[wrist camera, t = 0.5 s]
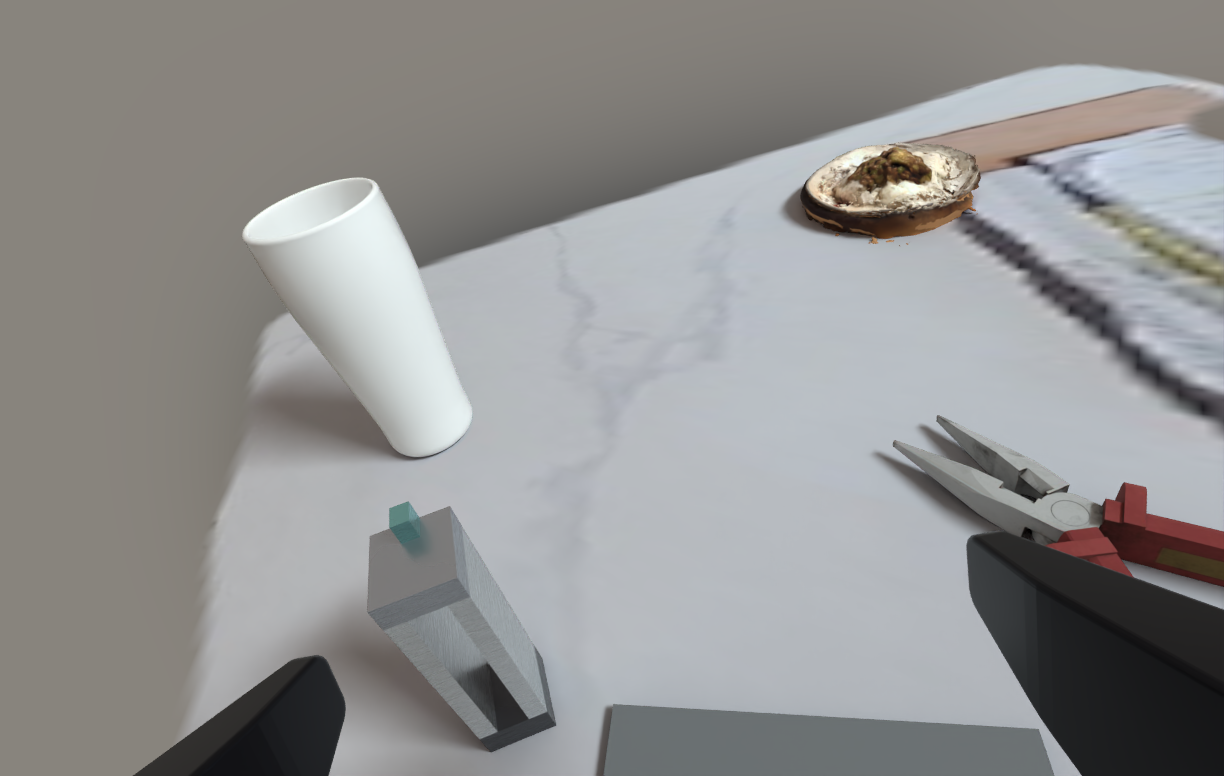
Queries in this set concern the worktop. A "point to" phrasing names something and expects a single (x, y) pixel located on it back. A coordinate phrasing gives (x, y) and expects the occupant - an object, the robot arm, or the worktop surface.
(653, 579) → the worktop surface
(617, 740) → the mat
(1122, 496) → the pliers
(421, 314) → the white tumbler
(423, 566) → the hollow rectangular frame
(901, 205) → the pie
